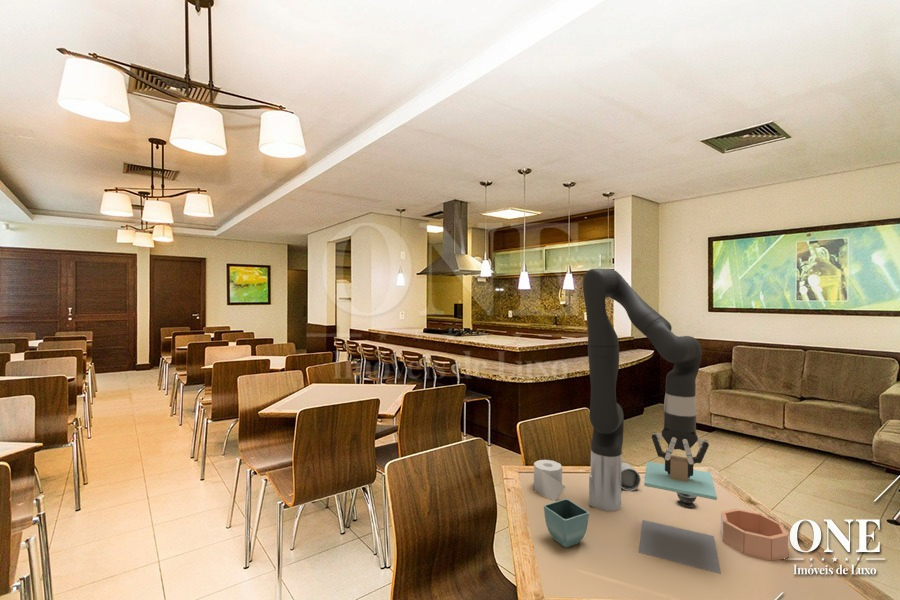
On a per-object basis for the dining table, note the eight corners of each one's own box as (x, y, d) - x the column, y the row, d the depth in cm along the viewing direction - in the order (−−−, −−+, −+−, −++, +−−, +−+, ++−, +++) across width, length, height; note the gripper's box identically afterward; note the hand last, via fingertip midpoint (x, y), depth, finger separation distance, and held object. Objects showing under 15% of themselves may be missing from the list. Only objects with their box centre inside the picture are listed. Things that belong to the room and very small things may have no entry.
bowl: (724, 551, 111) (725, 528, 111) (719, 525, 124) (719, 505, 124) (791, 567, 105) (792, 543, 105) (778, 538, 117) (779, 517, 117)
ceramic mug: (632, 481, 153) (632, 459, 153) (640, 491, 145) (640, 469, 145) (602, 480, 154) (602, 459, 154) (609, 490, 146) (608, 468, 146)
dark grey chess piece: (691, 500, 139) (692, 464, 139) (700, 509, 133) (701, 471, 133) (672, 499, 140) (673, 463, 139) (680, 508, 134) (681, 470, 134)
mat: (638, 554, 110) (638, 552, 110) (642, 521, 126) (642, 519, 126) (720, 575, 102) (720, 573, 102) (713, 537, 118) (713, 536, 118)
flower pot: (564, 554, 109) (565, 520, 109) (542, 537, 117) (542, 504, 117) (589, 545, 113) (590, 512, 113) (566, 529, 121) (566, 498, 121)
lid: (644, 485, 110) (644, 463, 110) (646, 464, 124) (647, 444, 124) (716, 500, 103) (717, 476, 103) (710, 475, 117) (711, 454, 117)
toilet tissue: (556, 503, 136) (557, 477, 136) (528, 487, 147) (528, 463, 147) (576, 496, 141) (576, 471, 141) (547, 481, 152) (547, 457, 152)
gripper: (709, 411, 113) (708, 475, 114) (650, 404, 120) (649, 464, 120) (712, 418, 107) (711, 486, 107) (649, 410, 113) (648, 474, 113)
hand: (678, 474), depth 113 cm, fingers closed on lid, 4 cm apart
